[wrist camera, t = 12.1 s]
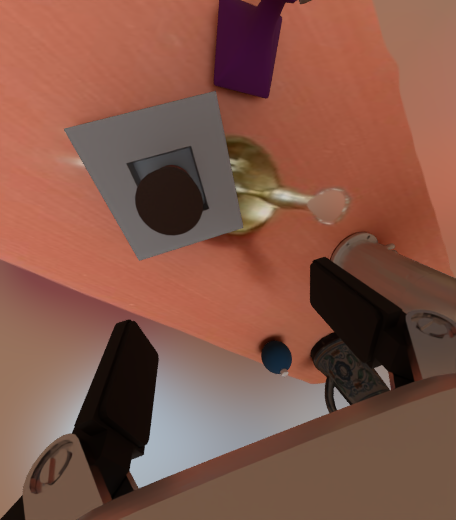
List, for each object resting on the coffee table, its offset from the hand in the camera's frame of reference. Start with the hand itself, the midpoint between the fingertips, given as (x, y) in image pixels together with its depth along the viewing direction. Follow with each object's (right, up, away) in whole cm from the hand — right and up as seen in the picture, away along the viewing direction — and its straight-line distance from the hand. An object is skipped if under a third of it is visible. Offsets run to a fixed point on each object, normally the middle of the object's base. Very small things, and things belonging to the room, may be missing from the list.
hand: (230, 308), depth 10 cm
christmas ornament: (+13, -23, +47) cm, 54 cm away
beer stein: (+35, -29, +57) cm, 73 cm away
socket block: (-9, +15, +20) cm, 27 cm away
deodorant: (-9, +15, +20) cm, 26 cm away
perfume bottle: (+1, +29, +16) cm, 33 cm away
